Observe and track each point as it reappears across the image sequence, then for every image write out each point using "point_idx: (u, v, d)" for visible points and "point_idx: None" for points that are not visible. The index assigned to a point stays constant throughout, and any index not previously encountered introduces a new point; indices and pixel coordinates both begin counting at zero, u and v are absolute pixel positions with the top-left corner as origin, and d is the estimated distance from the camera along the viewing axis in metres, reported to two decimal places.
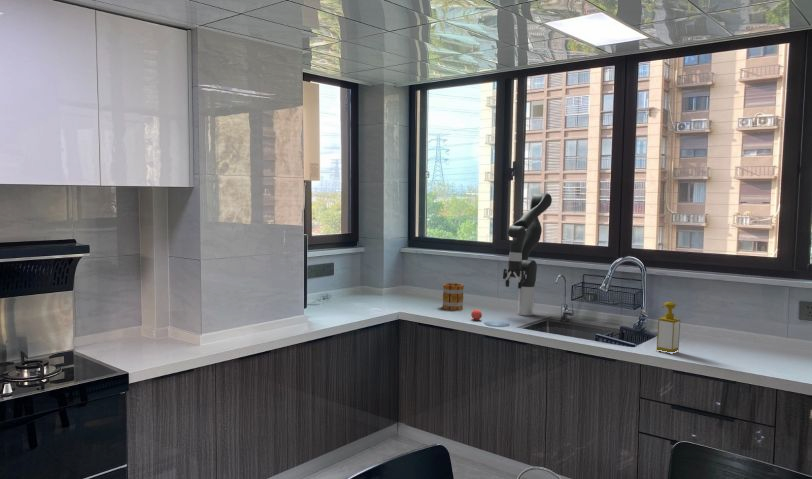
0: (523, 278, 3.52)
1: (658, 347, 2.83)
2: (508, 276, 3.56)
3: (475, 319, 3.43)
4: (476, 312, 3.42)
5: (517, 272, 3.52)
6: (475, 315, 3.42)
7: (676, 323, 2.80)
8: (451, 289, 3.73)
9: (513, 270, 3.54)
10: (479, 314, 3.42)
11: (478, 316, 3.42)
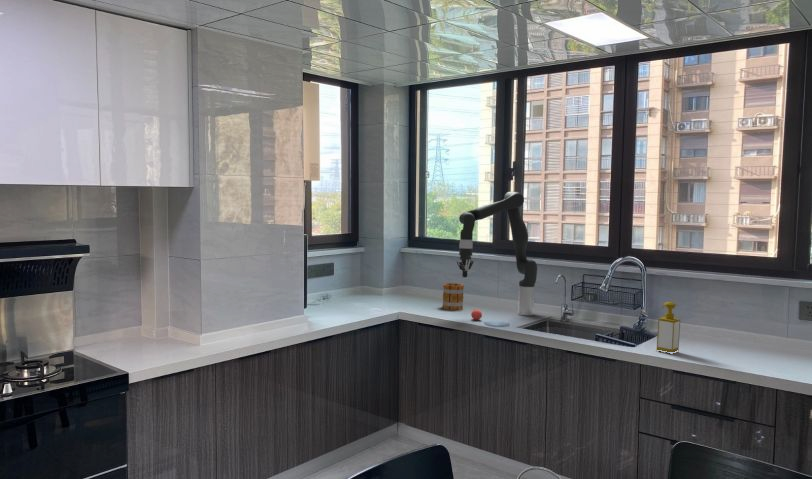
0: None
1: (658, 347, 2.83)
2: None
3: (475, 319, 3.43)
4: (476, 312, 3.42)
5: None
6: (475, 315, 3.42)
7: (676, 323, 2.80)
8: (451, 289, 3.73)
9: None
10: (479, 314, 3.42)
11: (478, 316, 3.42)
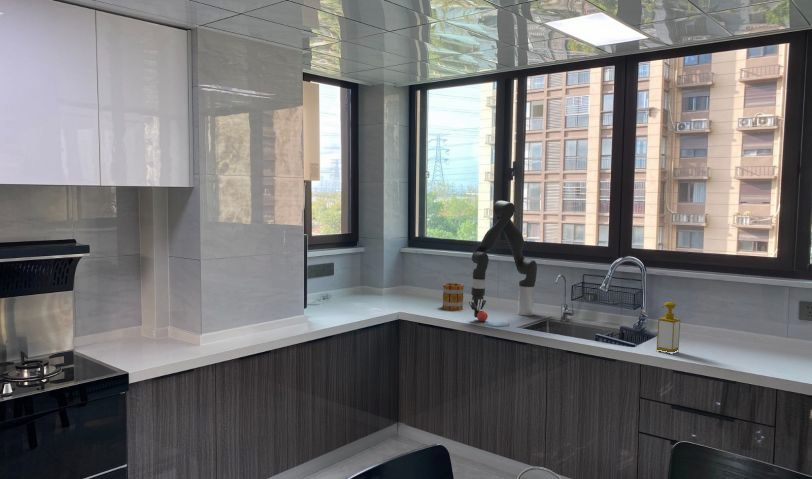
0: (474, 307, 3.41)
1: (658, 347, 2.83)
2: None
3: None
4: (483, 317, 3.38)
5: None
6: (480, 318, 3.39)
7: (676, 323, 2.80)
8: (451, 289, 3.73)
9: None
10: (484, 319, 3.39)
11: (482, 320, 3.40)
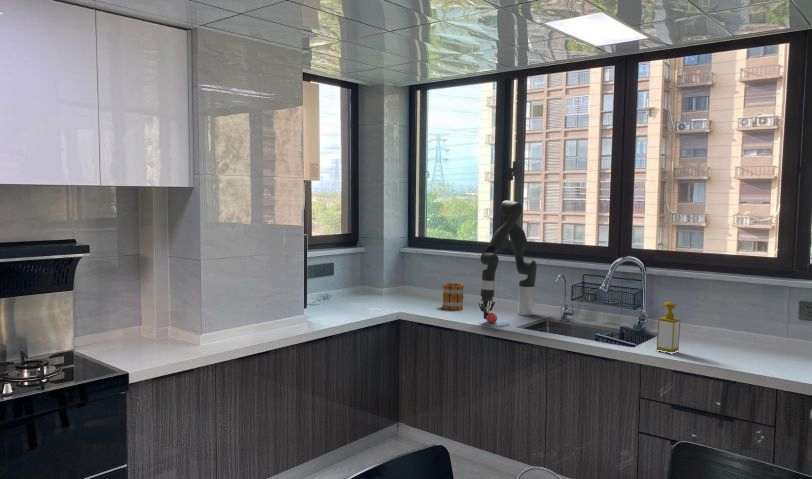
0: None
1: (658, 347, 2.83)
2: None
3: (486, 318, 3.37)
4: (491, 322, 3.34)
5: None
6: (488, 321, 3.35)
7: (676, 323, 2.80)
8: (451, 289, 3.73)
9: None
10: None
11: (489, 322, 3.36)
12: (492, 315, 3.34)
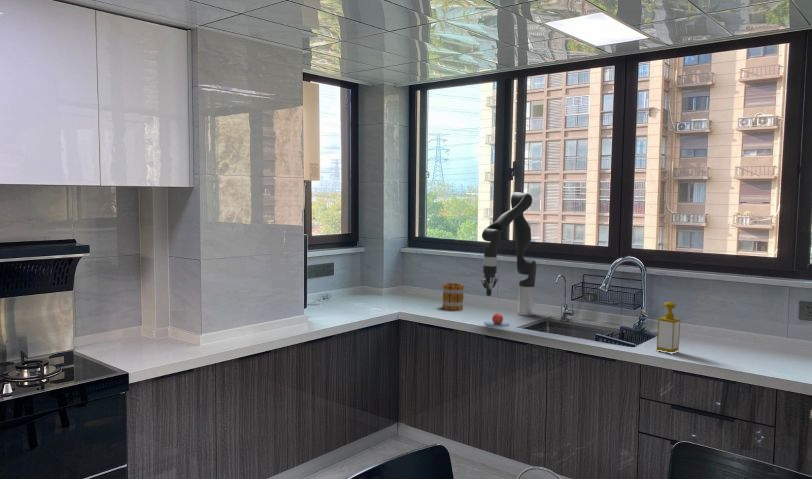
0: None
1: (658, 347, 2.83)
2: None
3: (494, 314, 3.35)
4: (493, 321, 3.34)
5: None
6: (493, 318, 3.34)
7: (676, 323, 2.80)
8: (451, 289, 3.73)
9: None
10: None
11: (492, 318, 3.35)
12: (500, 320, 3.32)
